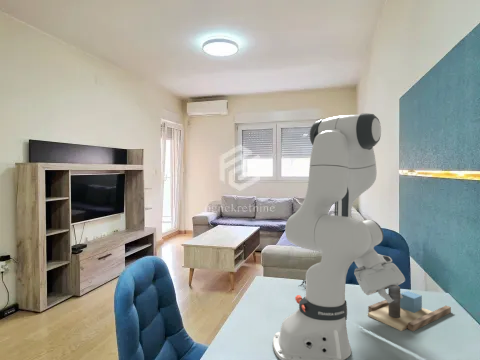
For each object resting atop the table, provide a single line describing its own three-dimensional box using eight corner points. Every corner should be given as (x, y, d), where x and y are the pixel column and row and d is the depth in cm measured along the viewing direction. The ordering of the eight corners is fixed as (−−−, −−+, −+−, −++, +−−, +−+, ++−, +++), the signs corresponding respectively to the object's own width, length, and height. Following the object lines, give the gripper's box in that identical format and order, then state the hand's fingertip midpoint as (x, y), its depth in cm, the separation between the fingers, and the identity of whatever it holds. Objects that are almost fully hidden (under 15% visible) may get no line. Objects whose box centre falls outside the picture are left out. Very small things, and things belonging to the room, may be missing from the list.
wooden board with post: (401, 331, 94) (401, 296, 94) (367, 315, 104) (367, 284, 104) (434, 315, 104) (434, 283, 104) (401, 302, 114) (400, 274, 114)
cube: (414, 312, 104) (413, 298, 103) (400, 307, 108) (400, 293, 108) (421, 309, 106) (421, 295, 106) (407, 304, 110) (407, 291, 110)
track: (413, 334, 94) (413, 325, 94) (368, 313, 107) (368, 306, 107) (450, 314, 106) (450, 307, 106) (406, 299, 120) (406, 292, 119)
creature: (295, 288, 136) (303, 290, 128) (294, 275, 137) (302, 277, 129) (310, 286, 138) (319, 288, 131) (309, 274, 139) (318, 275, 132)
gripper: (357, 264, 102) (383, 303, 94) (392, 256, 113) (419, 290, 104) (346, 274, 106) (371, 311, 98) (381, 264, 117) (406, 298, 108)
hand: (396, 300), depth 101 cm, fingers closed on wooden board with post, 4 cm apart
